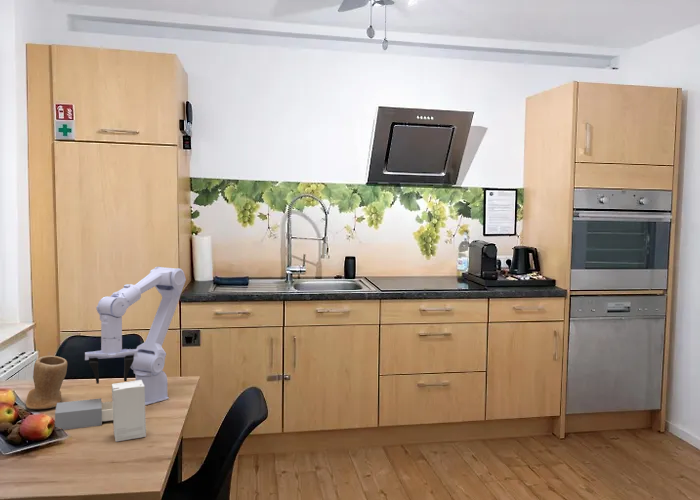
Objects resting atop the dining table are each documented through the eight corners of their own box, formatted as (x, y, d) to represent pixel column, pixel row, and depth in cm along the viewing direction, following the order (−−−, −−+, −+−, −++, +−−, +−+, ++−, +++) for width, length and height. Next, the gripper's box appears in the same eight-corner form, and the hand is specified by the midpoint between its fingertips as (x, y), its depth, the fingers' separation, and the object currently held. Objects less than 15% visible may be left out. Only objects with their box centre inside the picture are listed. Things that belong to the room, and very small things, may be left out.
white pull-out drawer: (84, 426, 169) (84, 395, 168) (85, 415, 178) (84, 385, 177) (132, 420, 174) (132, 390, 173) (130, 410, 183) (130, 380, 182)
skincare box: (143, 430, 169) (143, 378, 167) (146, 438, 163) (146, 385, 162) (111, 434, 165) (111, 382, 164) (113, 442, 159) (113, 388, 158)
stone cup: (67, 409, 183) (66, 361, 182) (23, 414, 178) (22, 365, 177) (69, 394, 197) (68, 349, 196) (28, 397, 192) (27, 352, 191)
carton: (55, 430, 167) (55, 413, 166) (57, 419, 175) (56, 402, 174) (101, 425, 171) (101, 408, 171) (101, 414, 179) (101, 398, 179)
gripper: (84, 341, 171) (84, 387, 172) (138, 338, 176) (138, 383, 177) (85, 336, 177) (85, 380, 178) (136, 333, 183) (136, 376, 184)
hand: (111, 381), depth 178 cm, fingers open, 7 cm apart
